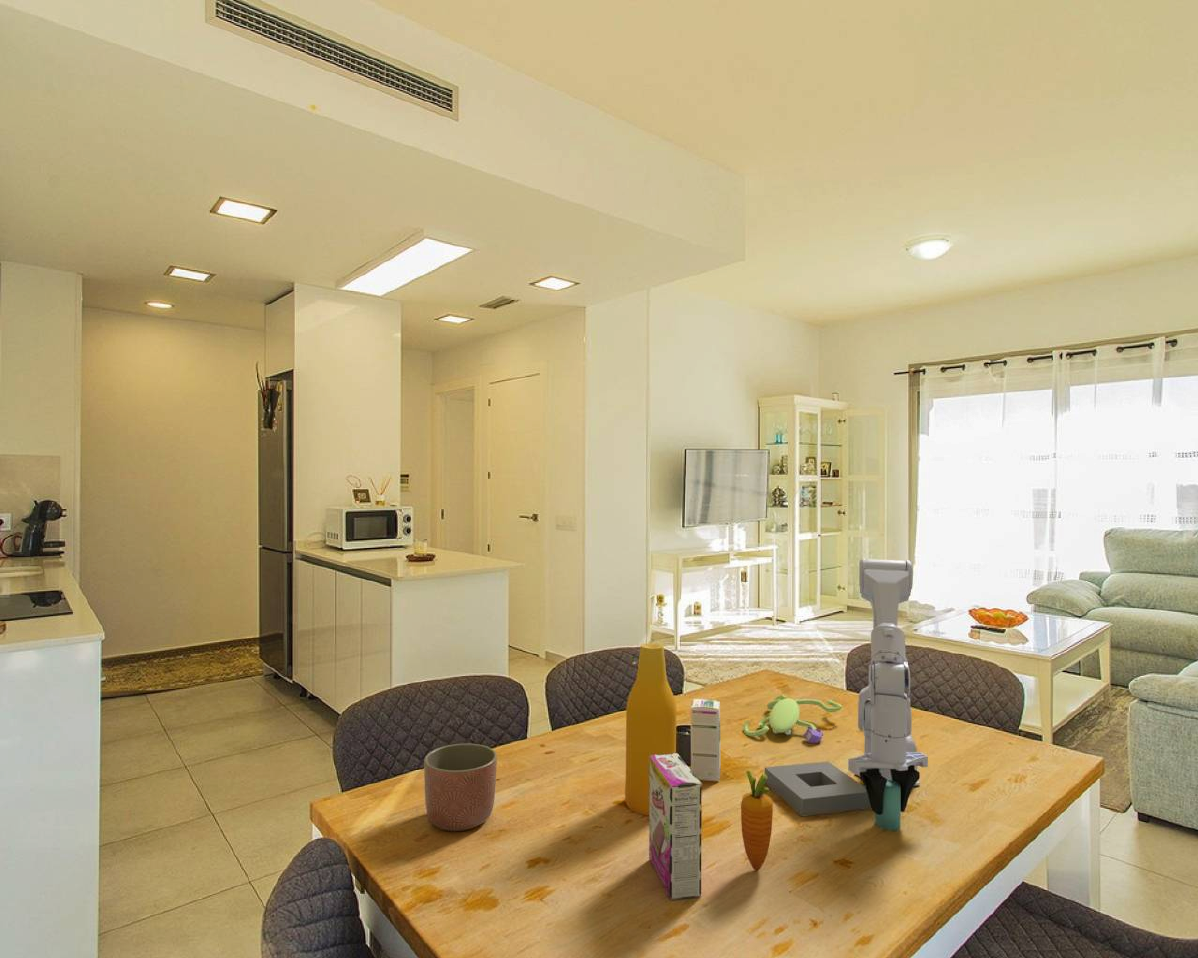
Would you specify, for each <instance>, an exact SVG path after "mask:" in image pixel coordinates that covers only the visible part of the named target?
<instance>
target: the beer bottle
mask: <svg viewBox="0 0 1198 958" xmlns="http://www.w3.org/2000/svg"><path fill="white" fill-rule="evenodd" d="M639 648H640V649H639V657H638V665H637V666H638V668H637V674H636V678H635V682H634V684H633V685H632V688H631V690H630V692H629V695H628V696H627V697H628V698H627V702H626V709H625V710H626V712H625V715H626V716H625V717H626V725H625V726H626V727H625V728H626V730H625V783H624V784H625V785H624V786H625V787H624V798H625V799H624V800H625V805H626V806H627V808H628V809H629V810H630V811H632V812H633V813H636V814H639V815H642V816H649V812H650V809H649V808H650V803H649V763H650V762H649V760H650V759H649V756H651V755H656V754H657V755H661V754H674V753H677V703H676V699H675V696H674V693H673V691H672V689H671V686H670V684H669V682H668V677H667V671H666V670H667V669H666V668H667V667H666V659H665V648H664V645H663V644H660V643H652V642H650V643H649V642H648V643H642V644H641V645H640V647H639Z"/></svg>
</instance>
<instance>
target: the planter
mask: <svg viewBox="0 0 1198 958" xmlns="http://www.w3.org/2000/svg"><path fill="white" fill-rule="evenodd" d="M497 762H498V753H497V752H496V751H495V750H494V749H493V748H491V747H490V746H486V745H482V744H478V743H455V744H448V745H445V746H440V747H437V748H435V749H433V750H431V751H430V752H428V753H427V754H426V756H425V757H424V760H423V765H424V767H423V770H424V772H423V773H424V801H425V810H426V814H427V817H428V820H429V821H430V822H431V824H432V825H433V826H435V827H437V828H439V829H441V830H445V831H451V832H457V831H459V832H460V831H466V830H467V831H468V830H471V829H474V828H477V827H478V826H481V825H482V824H484V823H485V822H486V821H487V820H488V819H489V818H490V816H491V815H492V812H493V809H494V804H495V797H496V786H497V785H496V784H497V782H496V781H497Z"/></svg>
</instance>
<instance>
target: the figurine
mask: <svg viewBox="0 0 1198 958" xmlns="http://www.w3.org/2000/svg"><path fill="white" fill-rule="evenodd" d="M826 702H827V705H829V706H827V705H826V704H825V703H824V702H823V701H821V700H818V699H811V698H802V699H801V698H800V699H792V698H788V697H787V696H786V695H784V694H780V695H778V696H776V697H775V698H774V699H773V700H772V701H770V702H768V703H767V705H766V707H767V709H768V710H769V709H771V710H770V713H769V716H767V717H765V718H763V719H761V720H760V721H759V723H758V727H759V728H761V729H758V730H754V731H751V730H749V726H750V721H749V720H746V721H745V722H744V724H743V731H744V734H745V735H746V736H749V737H751V738H754V737H759V736H762V735H764V734H766V733H768V731H769V730H770V728H772V732H773V733H774V735H777V734H779V733H784V734H785V735H786V736H790V735H791V734H792V730H791V729H793V728H794V726H795V725H798V726H802V727H807V729H806V730H805V732H804V734H803V737H804V738H805V740H806V742H807V743H811V744H819V743H820V742H821V740H822V739H823V736H824V732H823V731H821V728H820V729H819V728H817V727H816V726H815V725H814V724H813V723H811V722H806V721H803V720H800V719H799V718H800V717H799V716H800V711H801V710H800V706H799V705H815V706H819V707H820V708H821V709H822V710H823V711H825V712H828V713H835V712H836V713H837V712H838V711H840V710H841V709H842V707H843V706H842V704H840V703H838V702H835V701H832V700H831V699H828V700H827V701H826ZM830 706H832V707H830ZM772 708H773V709H772ZM767 723H769V725H770V728H769V726H767V725H766V724H767Z"/></svg>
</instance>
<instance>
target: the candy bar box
mask: <svg viewBox="0 0 1198 958" xmlns="http://www.w3.org/2000/svg"><path fill="white" fill-rule="evenodd" d="M649 759H650V760H649V762H650V763H649V803H650V808H649V809H650V812H649V817H648V818H649V823H648V825H649V827H648V829H649V833H648V835H649V845H648V846H649V847H648V849H649V850H648V851H649V852H648V853H649V855H648V859H649V861H650V863H651V864H652V867H653V868H654V870H655V872H656V874H657V876H658V877H659V879H660V882H661V883H662V885H663V887H664V890H665V891H666V893H667V895H668V898H669V899H670V901H675V900H685V899H691V898H699V897H700V898H701V897H702V795H703V794H702V793H703V792H702V790H703V789H702V787H703V783H702V782H701V780H698V778H697V777H696V776H695V775H694V773H693V772H692V771H691V767H689V766H688V765H687V763H686V762H685V761H684V760H683V758H682V757H681V756H680V755H679V753H677V752H676V753H674V754H661V755H657V754H656V755H651V756H649Z"/></svg>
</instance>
